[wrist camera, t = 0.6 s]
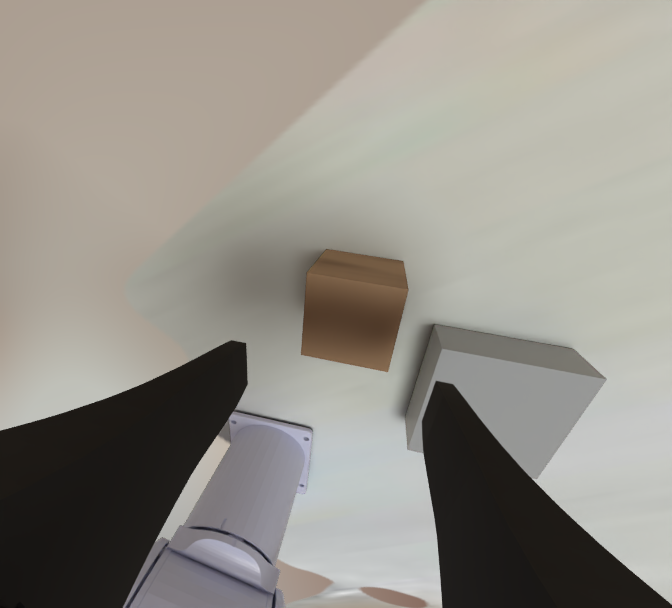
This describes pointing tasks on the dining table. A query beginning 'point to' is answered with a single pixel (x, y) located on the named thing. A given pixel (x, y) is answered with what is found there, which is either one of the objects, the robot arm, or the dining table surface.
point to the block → (353, 309)
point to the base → (507, 390)
